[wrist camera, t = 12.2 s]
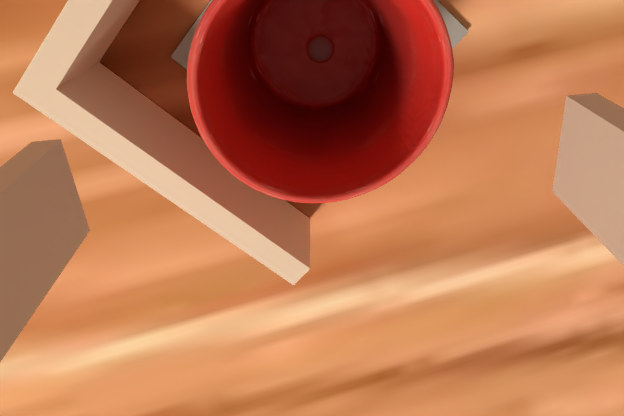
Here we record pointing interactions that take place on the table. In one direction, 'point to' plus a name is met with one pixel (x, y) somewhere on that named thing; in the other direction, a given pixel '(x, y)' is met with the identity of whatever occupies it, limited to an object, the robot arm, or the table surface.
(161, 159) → the corner wall
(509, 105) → the table surface
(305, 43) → the flower pot
